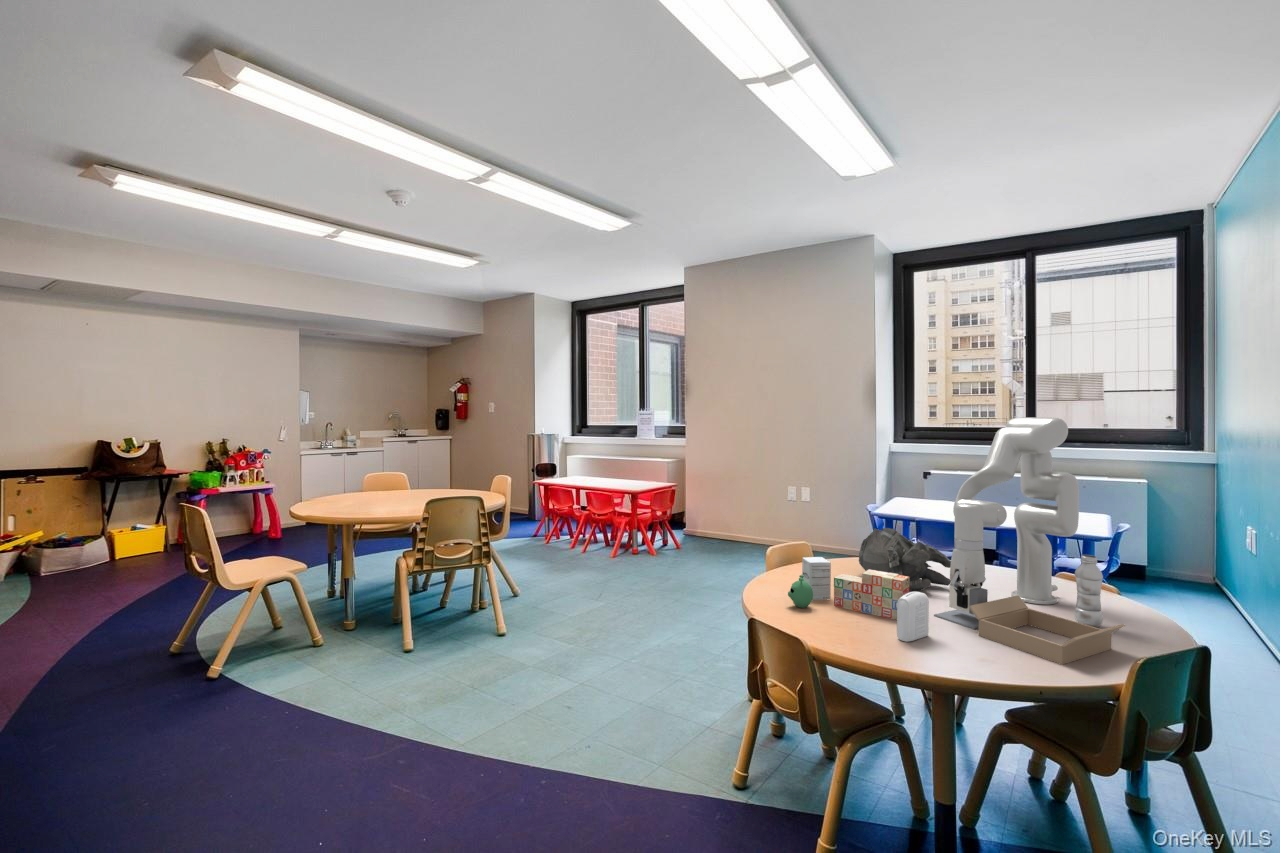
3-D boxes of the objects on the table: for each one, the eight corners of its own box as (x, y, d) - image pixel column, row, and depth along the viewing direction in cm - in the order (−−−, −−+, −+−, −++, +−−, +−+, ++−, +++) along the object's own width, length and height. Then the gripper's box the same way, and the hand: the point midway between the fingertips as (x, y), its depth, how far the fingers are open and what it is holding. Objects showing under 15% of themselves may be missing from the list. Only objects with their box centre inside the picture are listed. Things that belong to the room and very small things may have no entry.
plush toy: (958, 594, 206) (959, 536, 206) (881, 594, 206) (882, 536, 206) (922, 572, 233) (922, 521, 233) (854, 572, 234) (854, 521, 233)
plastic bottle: (1095, 630, 171) (1096, 560, 170) (1069, 623, 177) (1070, 555, 176) (1107, 627, 174) (1108, 557, 173) (1081, 619, 180) (1082, 552, 179)
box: (959, 604, 186) (959, 582, 186) (987, 613, 178) (987, 589, 178) (949, 606, 184) (949, 583, 184) (977, 615, 176) (977, 591, 176)
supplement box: (801, 594, 206) (801, 557, 206) (822, 593, 207) (822, 556, 207) (809, 600, 199) (809, 562, 199) (831, 600, 200) (831, 561, 199)
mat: (962, 609, 190) (962, 608, 190) (1003, 622, 178) (1003, 620, 178) (933, 615, 184) (933, 614, 184) (973, 629, 172) (973, 628, 172)
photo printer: (916, 631, 171) (916, 587, 171) (931, 636, 167) (931, 591, 167) (894, 638, 165) (894, 593, 165) (908, 643, 162) (909, 597, 161)
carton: (1016, 620, 180) (1016, 594, 179) (1124, 653, 155) (1125, 623, 155) (968, 632, 170) (968, 605, 170) (1075, 669, 145) (1075, 637, 145)
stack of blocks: (833, 606, 194) (833, 567, 193) (841, 601, 198) (841, 564, 198) (902, 621, 179) (902, 580, 179) (909, 616, 184) (909, 575, 184)
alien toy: (788, 602, 197) (788, 572, 197) (813, 604, 195) (813, 573, 194) (787, 609, 190) (787, 577, 190) (812, 611, 188) (812, 579, 188)
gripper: (975, 540, 187) (974, 598, 188) (938, 545, 180) (937, 606, 180) (999, 544, 181) (998, 605, 181) (961, 550, 173) (960, 613, 174)
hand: (968, 605), depth 181 cm, fingers closed on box, 4 cm apart
